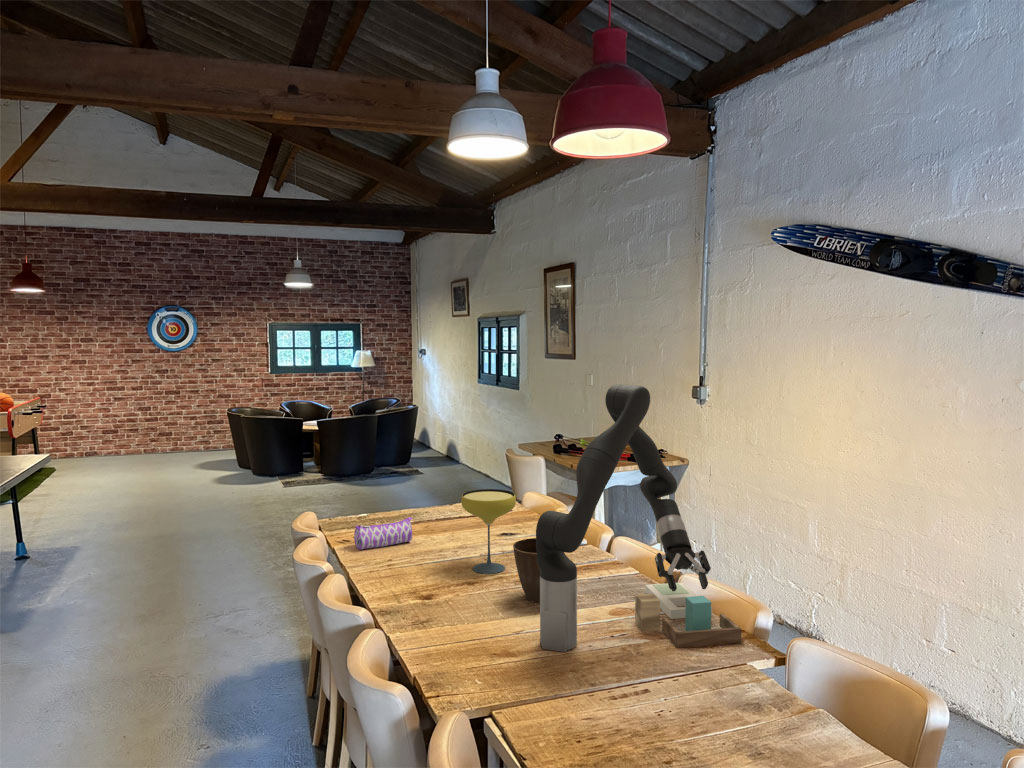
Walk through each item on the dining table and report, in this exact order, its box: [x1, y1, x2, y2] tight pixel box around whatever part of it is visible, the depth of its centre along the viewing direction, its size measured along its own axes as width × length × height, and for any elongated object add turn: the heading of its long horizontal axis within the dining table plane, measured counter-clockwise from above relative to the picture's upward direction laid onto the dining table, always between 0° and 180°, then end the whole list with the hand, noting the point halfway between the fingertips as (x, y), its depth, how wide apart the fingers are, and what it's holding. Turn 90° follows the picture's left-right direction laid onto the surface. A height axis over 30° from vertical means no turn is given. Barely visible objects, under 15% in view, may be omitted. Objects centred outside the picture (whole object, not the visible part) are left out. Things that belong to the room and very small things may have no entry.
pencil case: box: [353, 516, 414, 551], centre depth 260 cm, size 22×9×10 cm, turn 120°
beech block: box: [634, 593, 661, 632], centre depth 185 cm, size 5×5×8 cm
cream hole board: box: [644, 582, 713, 620], centre depth 201 cm, size 20×12×3 cm, turn 9°
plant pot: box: [512, 537, 540, 604], centre depth 206 cm, size 15×15×16 cm
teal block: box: [684, 595, 712, 631], centre depth 181 cm, size 4×5×9 cm
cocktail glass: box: [460, 488, 517, 575], centre depth 232 cm, size 18×18×25 cm
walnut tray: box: [661, 613, 742, 648], centre depth 179 cm, size 10×17×4 cm, turn 99°
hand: (689, 589), depth 186 cm, fingers open, 8 cm apart
